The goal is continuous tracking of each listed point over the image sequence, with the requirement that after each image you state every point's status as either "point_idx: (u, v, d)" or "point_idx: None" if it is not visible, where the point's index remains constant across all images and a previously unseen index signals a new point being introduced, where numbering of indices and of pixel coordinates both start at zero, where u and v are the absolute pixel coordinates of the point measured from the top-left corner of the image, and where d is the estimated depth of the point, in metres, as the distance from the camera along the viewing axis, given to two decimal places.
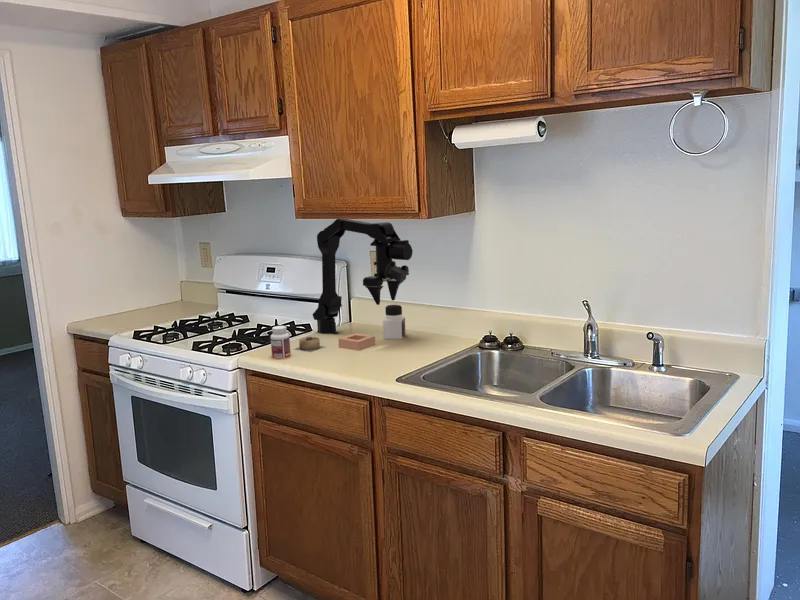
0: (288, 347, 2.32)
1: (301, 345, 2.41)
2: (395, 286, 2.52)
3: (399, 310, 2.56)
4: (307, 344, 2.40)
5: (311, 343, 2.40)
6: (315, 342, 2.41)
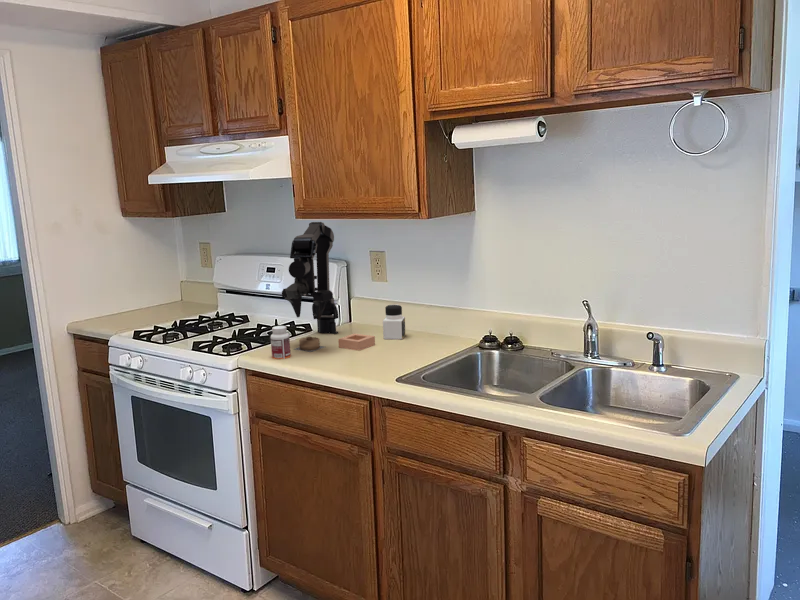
0: (288, 347, 2.32)
1: (301, 345, 2.41)
2: None
3: (399, 310, 2.56)
4: (307, 344, 2.40)
5: (311, 343, 2.40)
6: (315, 342, 2.41)
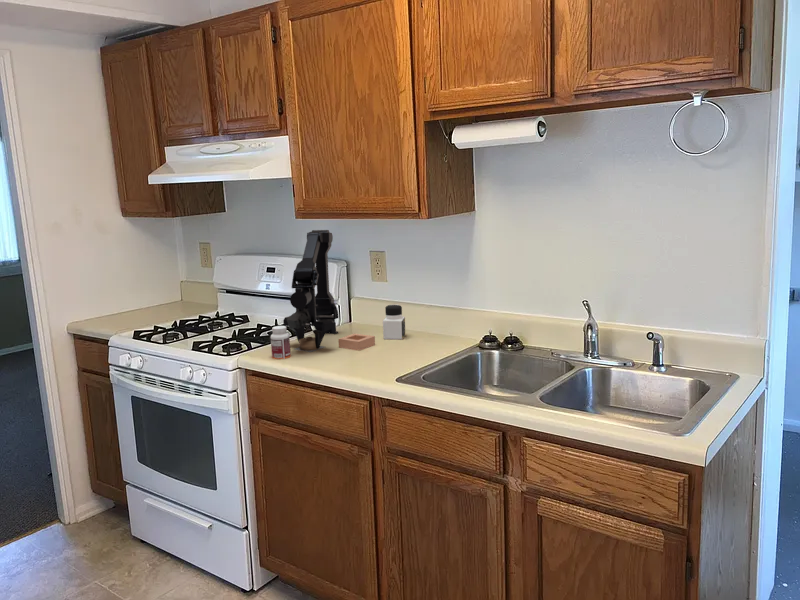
0: (288, 347, 2.32)
1: (301, 345, 2.41)
2: None
3: (399, 310, 2.56)
4: (307, 344, 2.40)
5: (311, 343, 2.40)
6: None
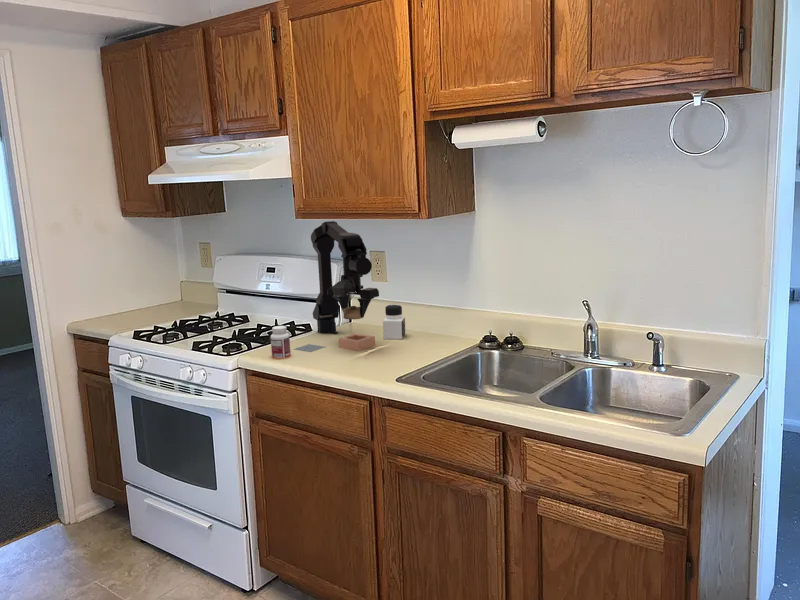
0: (288, 347, 2.32)
1: (345, 314, 2.40)
2: None
3: (399, 310, 2.56)
4: (352, 313, 2.39)
5: (356, 312, 2.39)
6: None
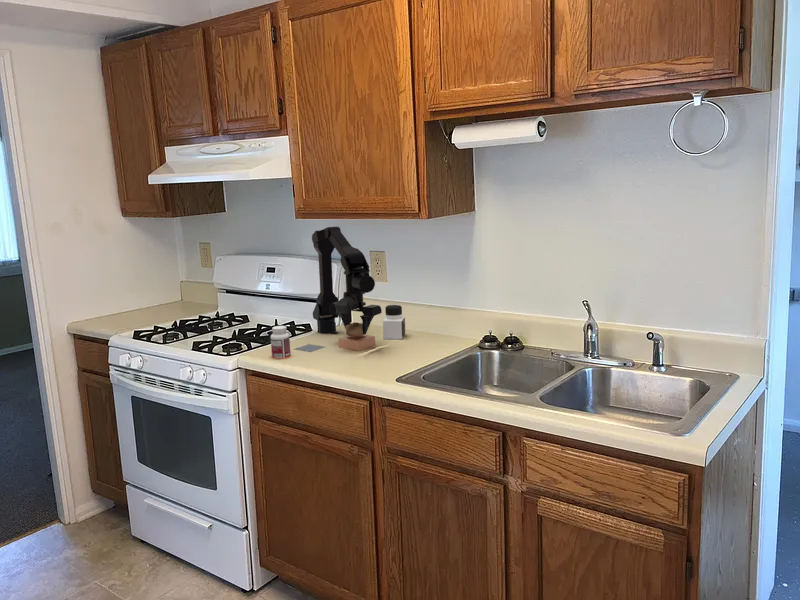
0: (288, 347, 2.32)
1: (348, 331, 2.41)
2: None
3: (399, 310, 2.56)
4: (354, 330, 2.40)
5: (358, 329, 2.40)
6: (362, 328, 2.41)
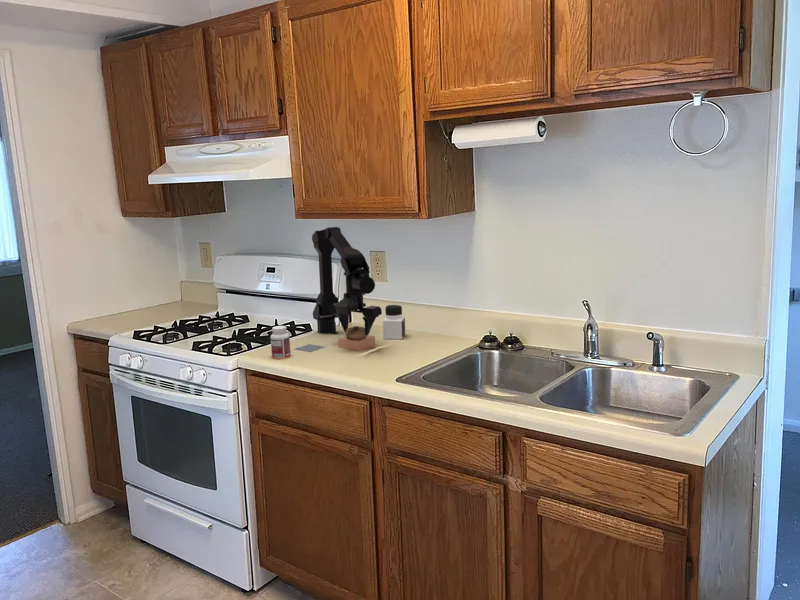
0: (288, 347, 2.32)
1: (348, 334, 2.41)
2: None
3: (399, 310, 2.56)
4: (355, 333, 2.40)
5: (359, 332, 2.40)
6: (362, 331, 2.41)
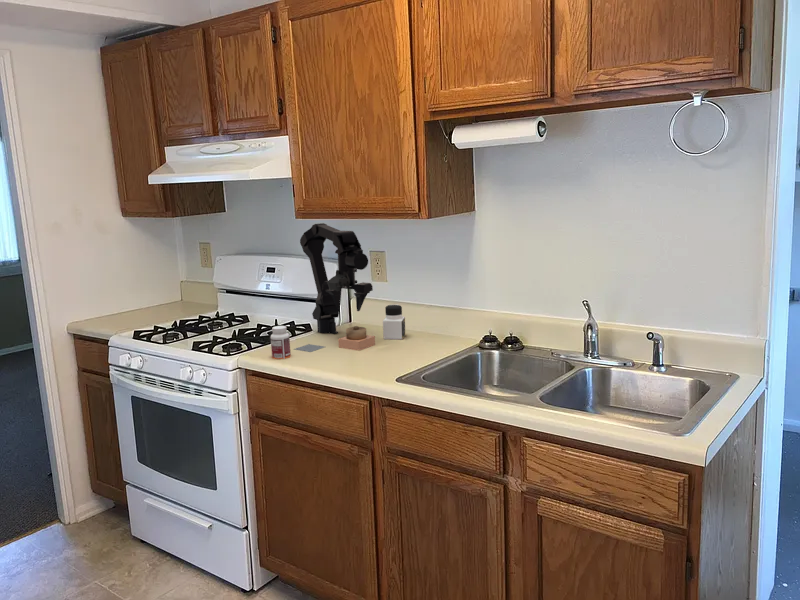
0: (288, 347, 2.32)
1: (348, 334, 2.41)
2: None
3: (399, 310, 2.56)
4: (355, 333, 2.40)
5: (359, 332, 2.40)
6: (362, 331, 2.41)
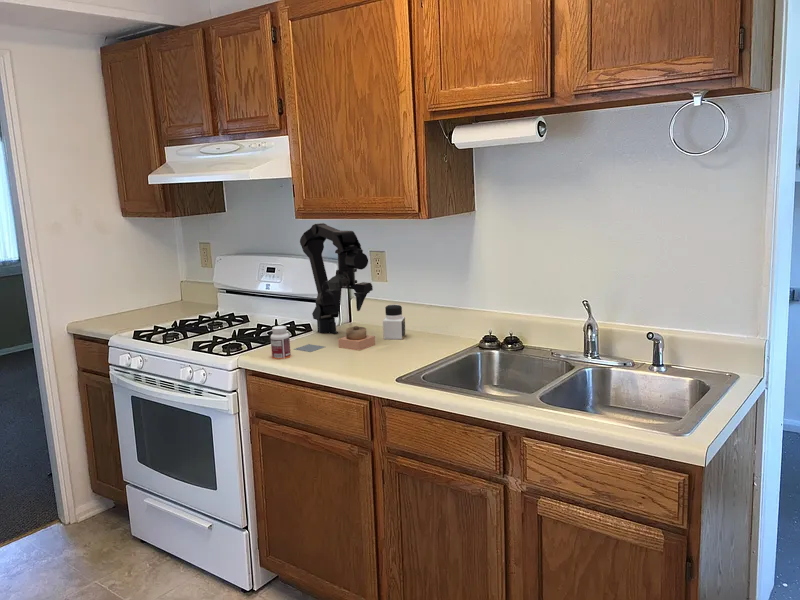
0: (288, 347, 2.32)
1: (348, 334, 2.41)
2: None
3: (399, 310, 2.56)
4: (355, 333, 2.40)
5: (359, 332, 2.40)
6: (362, 331, 2.41)
